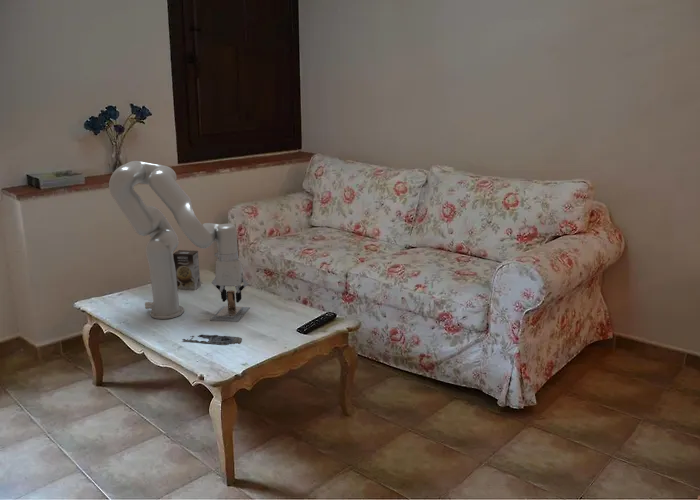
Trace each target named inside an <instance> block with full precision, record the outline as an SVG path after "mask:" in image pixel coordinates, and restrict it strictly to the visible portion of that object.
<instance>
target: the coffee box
mask: <svg viewBox="0 0 700 500" xmlns="http://www.w3.org/2000/svg"><path fill="white" fill-rule="evenodd" d="M173 259H174V263H175V269H176V278H177V287H178V290H186V291H187V290H192V291H196V290H197V289H198V288H200V287H201V276H200V275H201V273H200V262H199V260H200V259H199V251H198V250H188V249H179V250H178V249H177V251H176V250H175V252H173Z"/></svg>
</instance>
